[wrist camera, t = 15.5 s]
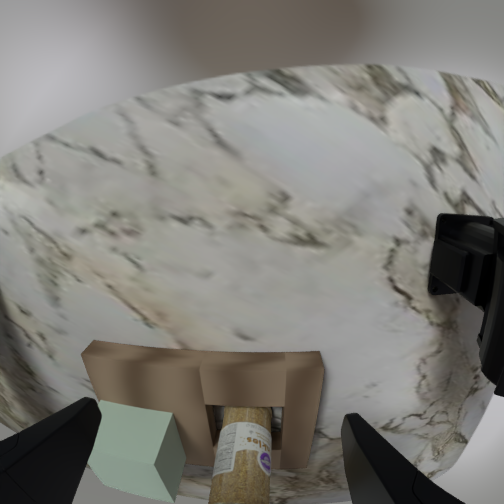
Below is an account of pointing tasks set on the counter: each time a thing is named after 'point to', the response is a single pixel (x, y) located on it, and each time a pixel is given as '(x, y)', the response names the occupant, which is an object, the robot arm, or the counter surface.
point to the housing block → (138, 451)
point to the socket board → (213, 392)
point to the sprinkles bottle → (243, 457)
